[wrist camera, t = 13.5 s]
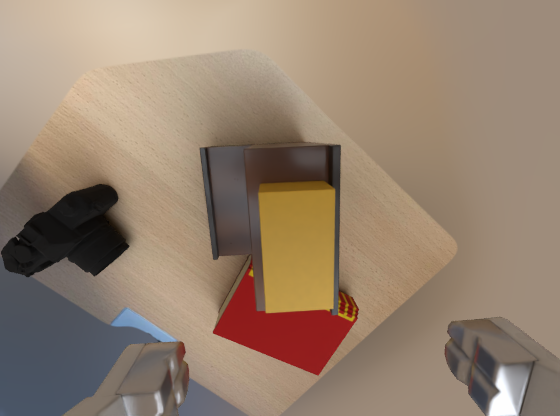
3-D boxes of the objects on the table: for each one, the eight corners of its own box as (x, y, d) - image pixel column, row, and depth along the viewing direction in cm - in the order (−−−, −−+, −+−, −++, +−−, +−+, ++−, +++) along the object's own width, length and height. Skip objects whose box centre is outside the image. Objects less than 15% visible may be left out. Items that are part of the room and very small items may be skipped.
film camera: (89, 283, 41) (42, 321, 32) (37, 240, 39) (-30, 269, 30) (156, 222, 39) (125, 246, 30) (105, 173, 37) (54, 184, 28)
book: (350, 294, 44) (361, 313, 39) (313, 350, 46) (318, 375, 41) (253, 248, 41) (251, 262, 36) (218, 311, 43) (212, 333, 39)
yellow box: (266, 287, 22) (265, 313, 19) (259, 183, 20) (257, 192, 17) (323, 283, 23) (333, 309, 19) (324, 180, 20) (335, 188, 17)
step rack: (212, 146, 37) (166, 152, 20) (304, 141, 37) (333, 144, 21) (222, 239, 40) (190, 309, 24) (306, 234, 41) (332, 299, 24)
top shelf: (244, 148, 20) (241, 149, 18) (333, 144, 21) (341, 144, 18) (256, 304, 24) (255, 320, 22) (332, 299, 24) (338, 315, 22)
